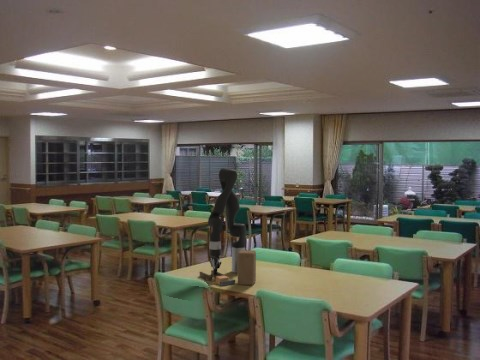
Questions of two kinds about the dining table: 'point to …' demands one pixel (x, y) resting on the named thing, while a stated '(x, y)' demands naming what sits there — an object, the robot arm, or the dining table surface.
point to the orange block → (221, 278)
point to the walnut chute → (209, 275)
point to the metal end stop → (227, 282)
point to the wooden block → (246, 267)
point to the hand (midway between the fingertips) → (215, 274)
